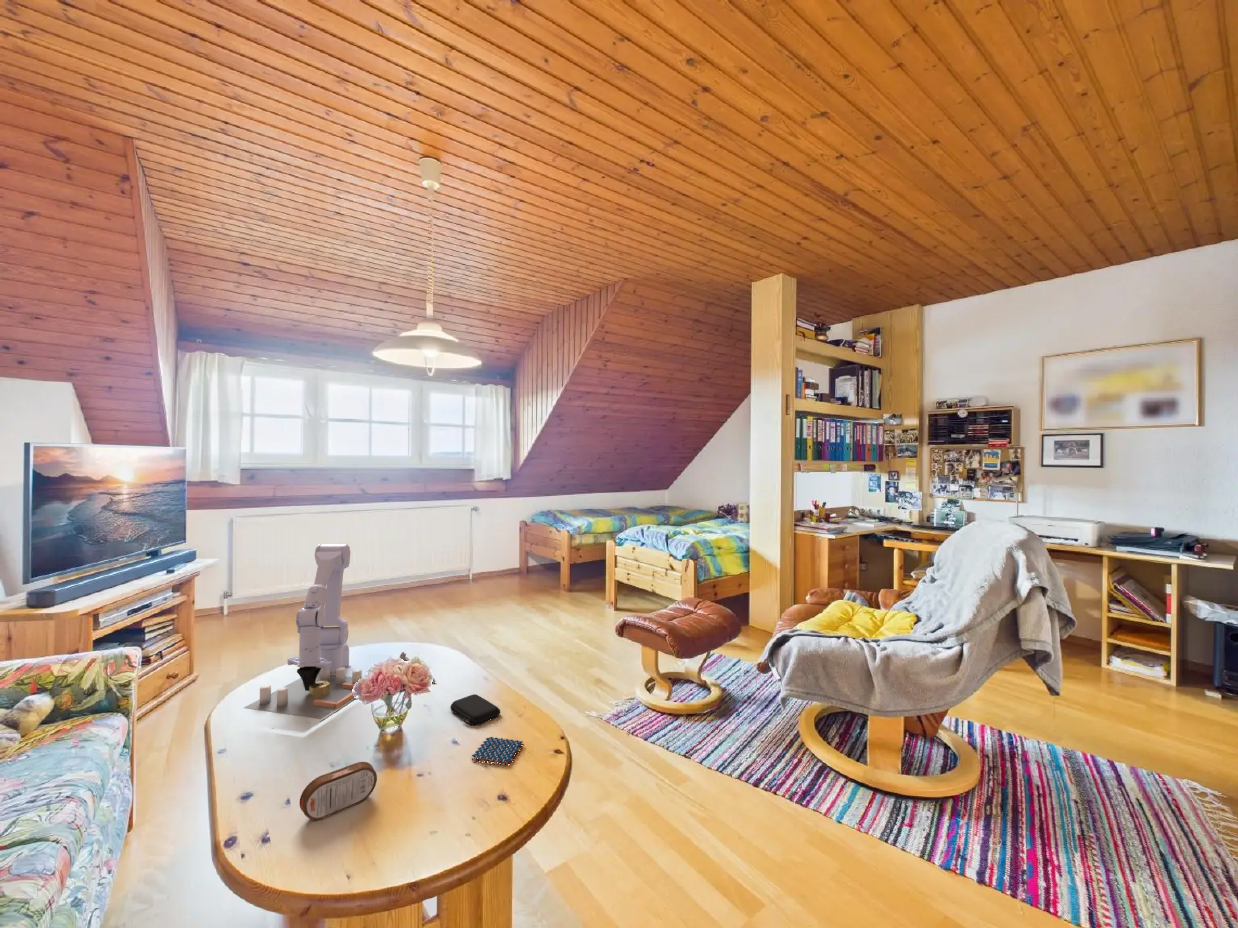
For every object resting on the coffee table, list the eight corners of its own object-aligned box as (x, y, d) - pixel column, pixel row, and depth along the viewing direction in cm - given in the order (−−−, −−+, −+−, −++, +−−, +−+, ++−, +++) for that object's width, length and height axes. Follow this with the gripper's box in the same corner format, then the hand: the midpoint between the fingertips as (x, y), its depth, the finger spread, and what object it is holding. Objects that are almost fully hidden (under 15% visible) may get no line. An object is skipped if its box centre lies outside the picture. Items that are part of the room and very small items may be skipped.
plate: (311, 675, 182) (311, 659, 182) (379, 683, 177) (379, 667, 177) (243, 710, 157) (243, 692, 157) (320, 722, 152) (320, 703, 151)
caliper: (398, 669, 190) (398, 651, 189) (401, 668, 190) (401, 650, 190) (434, 684, 178) (434, 666, 178) (437, 683, 179) (437, 665, 179)
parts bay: (344, 686, 172) (344, 682, 172) (366, 689, 171) (366, 685, 171) (313, 704, 160) (313, 700, 160) (336, 708, 158) (337, 704, 158)
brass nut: (319, 688, 170) (319, 679, 170) (333, 690, 169) (333, 681, 169) (305, 697, 164) (305, 687, 164) (319, 699, 163) (319, 689, 163)
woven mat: (510, 769, 132) (510, 761, 132) (470, 763, 134) (470, 755, 134) (525, 747, 142) (525, 739, 142) (488, 742, 144) (488, 734, 144)
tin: (373, 790, 122) (373, 754, 122) (378, 797, 120) (379, 760, 120) (298, 821, 112) (299, 781, 111) (303, 829, 109) (303, 788, 109)
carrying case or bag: (444, 712, 160) (471, 730, 150) (444, 702, 160) (471, 719, 150) (475, 700, 168) (503, 717, 158) (475, 690, 168) (503, 707, 158)
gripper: (279, 648, 165) (279, 692, 165) (320, 653, 162) (319, 697, 162) (297, 640, 172) (297, 682, 172) (337, 645, 169) (336, 687, 169)
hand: (309, 689), depth 167 cm, fingers closed
